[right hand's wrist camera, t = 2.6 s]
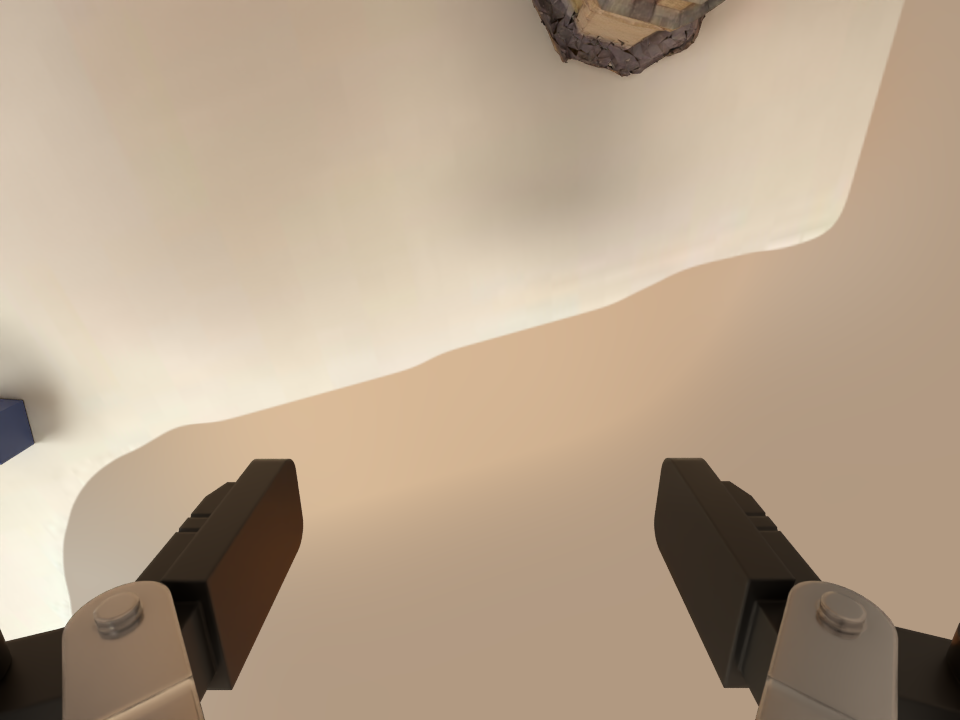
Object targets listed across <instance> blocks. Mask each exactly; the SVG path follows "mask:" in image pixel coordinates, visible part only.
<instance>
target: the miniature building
mask: <svg viewBox="0 0 960 720" xmlns="http://www.w3.org/2000/svg"><path fill="white" fill-rule="evenodd" d="M724 1H725V0H551V1H550V0H532V2H533V5H534V8H536V10H537V12H538V14H539V16H540V18H541V20H542V21H541V23H543V24H544V25H545V26H546V29H547V31H548V33H549V35H550V38H551V40H552V43H553V45H554V48H555V50H556V51H557V53H558V54H559V55H560V57H561V60H562V61H563V62H565V63H568V62H566V61H567V59H571V58H572V59H576V60H579V61H582V62H584V63H586V64H588V65H592V66H595V67H599V68H607V69H609V70H611V71H613V72H615V73H617V74H619V75H621V76H628V75H630V73H633V74H638V73H641V72H642V71H643V70H644V69H646V68H647V67H649V66H650V65H652V64H653V63H655V62H658V61H659V60H660V59H662V58H663V57H665V56H671V55H673V54H676V53H678V52H681V51H683V50H685V49H687V48H688V47H689V46H690V45H691V44H692V43H694V41H695V39H696V38H697V36H698V33H699V30H700V27H701V23H702V20H703V19H704V17H705V14H706V13H708V12H709V11H711V10H712V9H714V8H715V7H716V6H718V5H719V4H721V3H722V2H724ZM574 10H575V13H576V14H574V15H573V13H574ZM577 12H578V13H577ZM577 14H578V15H577ZM572 15H573V16H572ZM576 15H577V18H576V17H575V16H576ZM571 17H572V18H573V20H574V22H572V23H571V24H569V22H570V19H571ZM577 19H578V20H579V21H577ZM574 23H575V24H574ZM568 24H569V25H568ZM573 24H574V25H573ZM575 26H576V28H575ZM567 28H568V29H567ZM582 28H583V29H582ZM570 29H572V30H570ZM588 33H589V34H588ZM586 34H587V35H586ZM573 35H574V36H575V37H576V38H578V39H580V40H577V39H576V38H575V37H574V36H573ZM598 36H600V37H598ZM597 37H598V38H597ZM593 38H594V39H593ZM596 38H597V39H596ZM595 39H596V40H595ZM589 40H590V41H591V42H590V41H589ZM593 40H595V41H593ZM618 40H620V41H622V42H624V43H625V44H623V45H621V44H622V43H621V42H620V41H618ZM597 41H598V42H599V43H600V42H601V41H602V42H601V43H600V44H597V45H595V44H596V42H597ZM627 41H628V42H627ZM611 42H612V43H614V44H615V45H614V46H613V45H612V43H611ZM610 43H611V44H610ZM649 43H650V44H649ZM609 44H610V45H609ZM600 45H601V46H602V47H603V48H602V47H600ZM621 47H622V49H621ZM601 48H602V49H601ZM605 48H607V49H605ZM608 48H609V49H610V50H609V49H608ZM610 62H611V64H612V66H609V65H608V64H609V63H610ZM629 72H630V73H629Z"/></svg>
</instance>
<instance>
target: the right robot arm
mask: <svg viewBox="0 0 960 720" xmlns="http://www.w3.org/2000/svg"><path fill="white" fill-rule="evenodd" d="M654 529H655V537H656V541H657V545H658V548H659V550H660V552H661V554H662V556H663V558H664V561H665V563H666V565H667V567H668V569H669V571H670V573H671V576H672V578H673V580H674V582H675V584H676V586H677V588H678V590H679V593H680V595H681V597H682V599H683V601H684V603H685V605H686V607H687V610H688V612H689V614H690V616H691V618H692V620H693V622H694V625H695V627H696V629H697V631H698V633H699V635H700V638H701V640H702V642H703V644H704V646H705V648H706V650H707V652H708V655H709V657H710V659H711V661H712V663H713V665H714V667H715V670H716V672H717V674H718V676H719V678H720V680H721V682H722V684H723V687H724V688H749V689H750V691H751V692H752V694H753V696H754V698H755V700H756V702H757V704H758V706H759V708H758V711H757V715H756V719H755V720H960V623H959V625H958V628H957V630H956V632H955V635H954V637H953V639H952V640H950V639H945V638H941V637H937V636H933V635H929V634H924V633H920V632H916V631H911V630H907V629H903V628H899V627H895V626H894V625H893V623H892V621H891V620H890V619H889V617H888V616H887V615H886V614H885V613H884V612H883V611H882V610H881V609H880V608H879V607H878V606H876V605H875V604H874V603H872V602H871V601H870V600H868V599H866V598H865V597H863V596H862V595H860V594H858V593H856V592H854V591H852V590H850V589H847V588H845V587H842V586H839V585H836V584H832V583H828V582H822V581H821V580H820V579H819V577H818V576H817V575H816V574H815V573H814V571H813V570H812V569H811V568H810V567H809V565H808V564H807V563H806V562H805V560H804V559H803V558H802V557H801V556H800V554H799V553H798V552H797V551H796V550H795V548H794V547H793V546H792V545H791V543H790V542H789V541H788V540H787V539H786V537H785V536H784V535H783V534H782V533H781V531H778V530H777V527H776V525H775V524H774V523H773V522H772V520H771V519H770V518H769V517H768V516H766V515H765V512H764V511H763V509H762V508H761V507H760V506H759V505H758V503H757V502H756V501H755V500H754V499H753V497H752V496H751V495H749V494H748V493H746V492H745V491H743V490H742V489H740V488H739V487H737V486H736V485H734V484H733V483H731V482H730V481H720V479H719V478H718V477H717V475H716V474H715V473H714V472H713V470H712V469H711V468H710V466H709V465H708V464H707V462H706V461H705V460H704V459H702V458H666V459H665V460H664V462H663V464H662V468H661V475H660V482H659V489H658V496H657V503H656V510H655V518H654ZM302 533H303V516H302V510H301V502H300V495H299V489H298V481H297V475H296V468H295V464H294V462H293V461H292V460H291V459H254V460H253V461H252V462H251V463H250V465H249V466H248V467H247V468H246V470H245V471H244V472H243V474H242V475H241V476H240V477H239V479H238V480H237V481H236V482H227V483H226V484H224V485H223V486H221V487H220V488H218V489H217V490H215V491H214V492H212V493H211V494H209V495H208V496H206V497H205V498H204V499H203V500H202V502H201V503H200V504H199V505H198V506H197V508H196V509H195V510H194V511H193V512H192V514H191V518H188V519H187V520H186V521H185V522H184V523H183V524H182V526H181V527H180V528H179V532H176V533H175V534H174V535H173V536H172V538H171V539H170V540H169V541H168V543H167V544H166V545H165V546H164V547H163V549H162V550H161V551H160V552H159V553H158V555H157V556H156V557H155V558H154V559H153V561H152V562H151V563H150V564H149V565H148V567H147V568H146V569H145V570H144V571H143V573H142V574H141V575H140V576H139V578H138V579H137V580H136V581H135V582H132V583H128V584H124V585H121V586H118V587H115V588H113V589H110V590H108V591H106V592H104V593H102V594H100V595H98V596H97V597H95V598H94V599H92V600H90V601H89V602H88V603H86V604H85V605H84V606H82V607H81V608H80V609H79V610H78V611H77V612H76V613H75V614H74V615H73V616H72V617H71V619H70V620H69V621H68V623H67V624H66V626H65V627H64V628H60V629H56V630H52V631H48V632H44V633H39V634H35V635H31V636H27V637H23V638H18V639H14V640H10V641H6V642H5V639H4V637H3V635H2V632H1V630H0V720H205V719H204V715H203V711H202V708H201V704H200V702H201V700H202V698H203V696H204V694H205V692H206V690H232V689H233V687H234V685H235V682H236V680H237V678H238V676H239V674H240V672H241V670H242V668H243V666H244V663H245V661H246V659H247V657H248V655H249V653H250V651H251V649H252V647H253V644H254V642H255V640H256V638H257V636H258V634H259V632H260V630H261V627H262V625H263V623H264V621H265V619H266V617H267V615H268V613H269V611H270V609H271V606H272V604H273V602H274V600H275V598H276V596H277V594H278V592H279V590H280V587H281V585H282V583H283V581H284V579H285V577H286V575H287V573H288V571H289V568H290V566H291V564H292V562H293V560H294V558H295V556H296V554H297V552H298V549H299V547H300V544H301V539H302Z"/></svg>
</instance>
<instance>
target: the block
mask: <svg viewBox="0 0 960 720" xmlns="http://www.w3.org/2000/svg"><path fill="white" fill-rule="evenodd" d="M33 444H34V441H33V437H32V433H31V430H30V426H29V422H28V418H27V415H26V411H25V407H24V403H23V400H9V399H0V465H1V464H3V463H5V462H6V461H8V460H9V459H11V458H13V457H14V456H16V455H17V454H19V453H20V452H22V451H24V450H25V449H27V448H28V447H30V446H32V445H33Z"/></svg>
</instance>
